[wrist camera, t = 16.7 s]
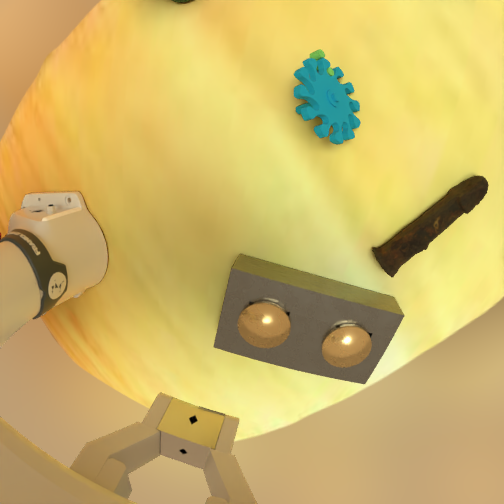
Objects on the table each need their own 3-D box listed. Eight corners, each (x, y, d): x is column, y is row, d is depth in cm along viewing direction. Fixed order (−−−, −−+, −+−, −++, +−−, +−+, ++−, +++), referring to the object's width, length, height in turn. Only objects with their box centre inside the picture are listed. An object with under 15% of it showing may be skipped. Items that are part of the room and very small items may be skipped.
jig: (222, 327, 43) (211, 350, 37) (239, 253, 39) (230, 270, 33) (360, 362, 41) (365, 387, 36) (394, 297, 37) (406, 318, 32)
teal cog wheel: (370, 146, 30) (311, 137, 25) (331, 152, 35) (270, 149, 29) (354, 61, 28) (294, 35, 23) (319, 74, 33) (258, 57, 28)
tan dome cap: (313, 341, 40) (314, 361, 36) (330, 303, 38) (333, 322, 33) (354, 351, 39) (358, 371, 35) (373, 315, 37) (380, 333, 33)
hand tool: (383, 270, 37) (392, 285, 32) (368, 247, 36) (377, 260, 32) (483, 192, 31) (501, 198, 26) (471, 168, 30) (490, 171, 26)
